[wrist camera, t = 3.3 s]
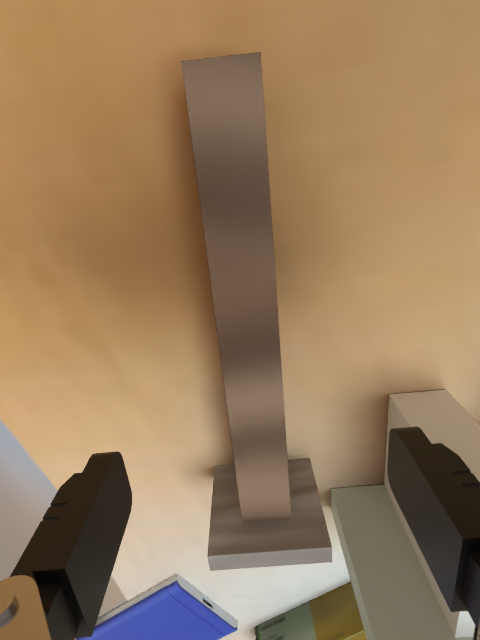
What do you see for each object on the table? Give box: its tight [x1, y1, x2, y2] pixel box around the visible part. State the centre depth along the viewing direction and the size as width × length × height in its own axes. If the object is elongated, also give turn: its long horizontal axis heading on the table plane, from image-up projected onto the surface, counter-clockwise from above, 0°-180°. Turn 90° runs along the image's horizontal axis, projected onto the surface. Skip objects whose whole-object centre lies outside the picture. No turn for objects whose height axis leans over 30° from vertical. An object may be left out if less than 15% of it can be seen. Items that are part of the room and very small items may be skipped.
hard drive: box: [76, 574, 237, 640], centre depth 34 cm, size 2×8×12 cm
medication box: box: [255, 582, 367, 640], centre depth 32 cm, size 12×3×4 cm, turn 127°
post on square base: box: [181, 52, 332, 571], centre depth 20 cm, size 25×7×7 cm, turn 6°
